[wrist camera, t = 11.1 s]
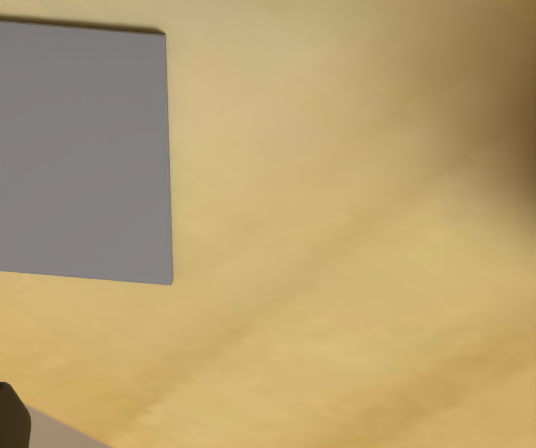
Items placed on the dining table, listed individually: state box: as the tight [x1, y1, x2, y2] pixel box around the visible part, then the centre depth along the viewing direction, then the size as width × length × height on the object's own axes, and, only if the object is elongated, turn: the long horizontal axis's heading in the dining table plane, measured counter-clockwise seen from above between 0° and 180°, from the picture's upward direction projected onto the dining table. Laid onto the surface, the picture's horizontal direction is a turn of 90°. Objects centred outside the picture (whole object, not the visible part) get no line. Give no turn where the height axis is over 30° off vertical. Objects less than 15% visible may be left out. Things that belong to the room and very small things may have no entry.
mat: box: [0, 20, 173, 285], centre depth 20 cm, size 11×11×1 cm
